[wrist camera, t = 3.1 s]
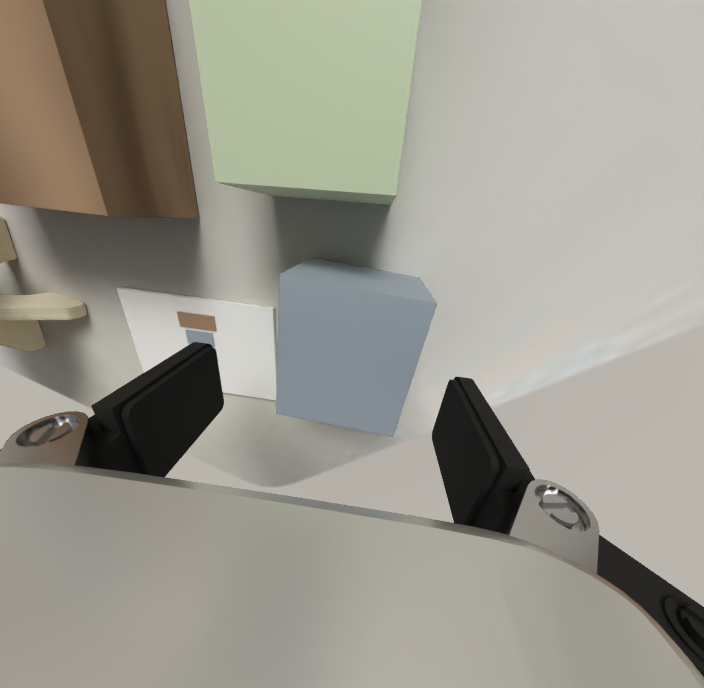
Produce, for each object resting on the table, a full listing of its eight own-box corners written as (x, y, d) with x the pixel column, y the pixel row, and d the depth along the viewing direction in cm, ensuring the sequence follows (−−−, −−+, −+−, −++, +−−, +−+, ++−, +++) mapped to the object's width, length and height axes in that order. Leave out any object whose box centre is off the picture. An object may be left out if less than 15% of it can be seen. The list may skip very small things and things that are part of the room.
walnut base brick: (150, -93, 9) (-81, -408, 4) (199, 218, 13) (107, 215, 9) (-100, -106, 9) (-534, -402, 5) (27, 198, 14) (-140, 186, 9)
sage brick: (417, -10, 9) (452, -228, 5) (390, 205, 12) (396, 195, 8) (261, -14, 10) (156, -220, 5) (273, 196, 13) (214, 181, 8)
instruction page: (274, 307, 15) (272, 309, 15) (278, 397, 18) (276, 401, 18) (120, 287, 16) (114, 288, 15) (149, 378, 19) (145, 381, 18)
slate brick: (418, 276, 14) (437, 303, 9) (389, 380, 17) (392, 436, 12) (312, 257, 14) (279, 273, 9) (303, 363, 17) (275, 413, 13)
